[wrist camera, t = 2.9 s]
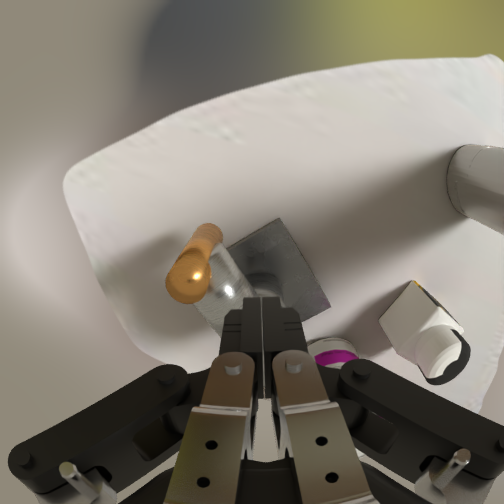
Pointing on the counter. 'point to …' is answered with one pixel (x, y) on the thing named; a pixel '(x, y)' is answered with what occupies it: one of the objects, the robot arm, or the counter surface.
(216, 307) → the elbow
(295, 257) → the grey stand with base
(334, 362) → the supplement can
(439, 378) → the medicine bottle
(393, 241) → the counter surface
